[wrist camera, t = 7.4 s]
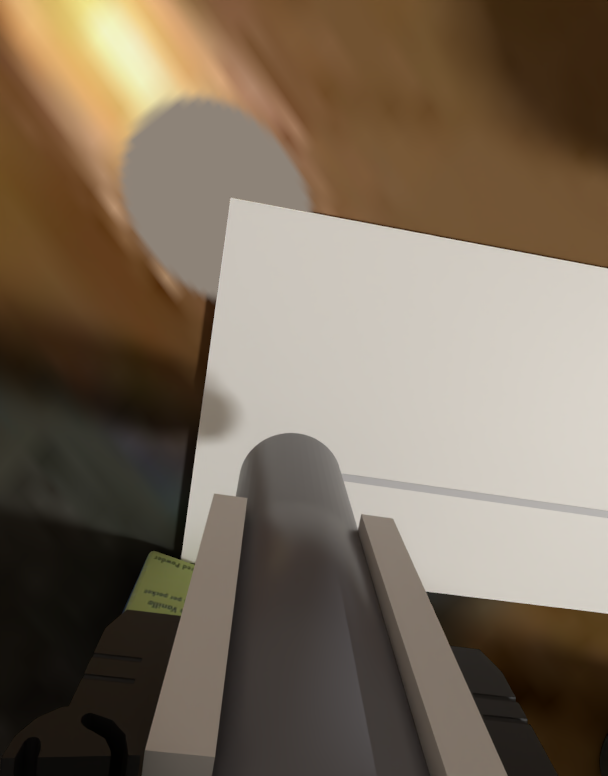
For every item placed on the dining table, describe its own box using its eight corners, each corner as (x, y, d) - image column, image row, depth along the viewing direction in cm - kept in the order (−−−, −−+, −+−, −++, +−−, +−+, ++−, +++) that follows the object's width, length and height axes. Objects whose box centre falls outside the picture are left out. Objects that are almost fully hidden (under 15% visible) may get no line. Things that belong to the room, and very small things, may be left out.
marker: (232, 507, 18) (56, 1482, 4) (246, 411, 18) (90, 1163, 3) (330, 519, 19) (525, 1469, 4) (348, 426, 18) (668, 1177, 3)
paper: (182, 557, 22) (180, 562, 22) (230, 198, 19) (230, 197, 18) (638, 613, 24) (643, 618, 23) (749, 296, 21) (757, 296, 20)
